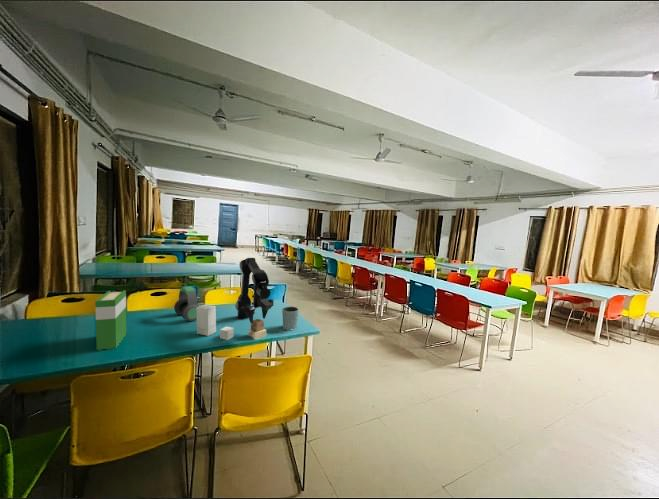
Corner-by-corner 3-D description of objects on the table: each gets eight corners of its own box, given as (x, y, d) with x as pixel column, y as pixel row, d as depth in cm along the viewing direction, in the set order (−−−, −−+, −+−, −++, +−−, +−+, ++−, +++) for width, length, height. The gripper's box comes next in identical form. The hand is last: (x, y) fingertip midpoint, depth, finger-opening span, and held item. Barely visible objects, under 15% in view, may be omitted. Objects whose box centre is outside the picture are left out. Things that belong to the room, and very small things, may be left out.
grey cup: (294, 331, 162) (295, 312, 161) (278, 329, 164) (279, 310, 163) (299, 325, 172) (300, 307, 171) (284, 323, 174) (285, 305, 173)
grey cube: (220, 338, 147) (220, 329, 147) (226, 334, 152) (226, 326, 151) (227, 340, 146) (228, 331, 145) (233, 336, 151) (233, 327, 150)
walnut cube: (250, 329, 152) (251, 321, 152) (257, 327, 156) (257, 318, 156) (256, 332, 149) (257, 323, 149) (263, 329, 154) (263, 321, 153)
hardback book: (109, 335, 142) (108, 290, 140) (126, 333, 145) (125, 290, 143) (96, 350, 126) (95, 301, 124) (116, 348, 129) (115, 300, 127)
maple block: (248, 335, 153) (248, 328, 153) (259, 332, 158) (259, 326, 158) (254, 340, 148) (255, 333, 148) (265, 336, 153) (266, 330, 153)
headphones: (202, 319, 170) (203, 289, 168) (184, 324, 162) (184, 291, 160) (190, 311, 183) (190, 283, 181) (172, 315, 175) (172, 285, 173)
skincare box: (216, 332, 154) (216, 306, 152) (207, 336, 148) (208, 309, 146) (204, 329, 157) (205, 303, 155) (195, 333, 151) (196, 306, 149)
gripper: (256, 300, 138) (255, 329, 140) (281, 293, 154) (279, 319, 156) (241, 296, 144) (240, 324, 146) (267, 289, 160) (266, 315, 162)
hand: (257, 320), depth 152 cm, fingers open, 9 cm apart
